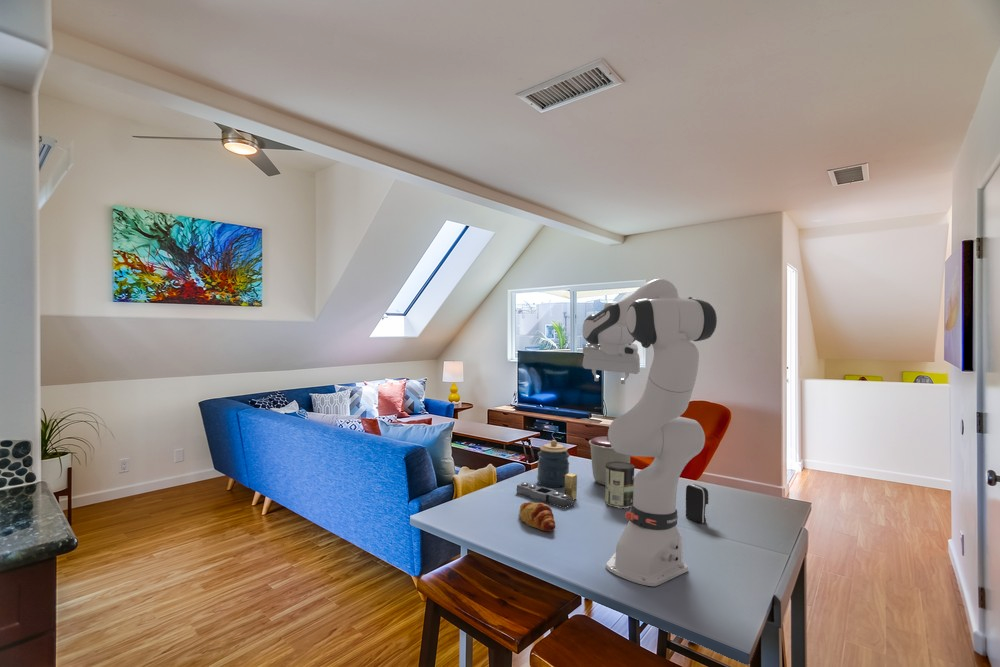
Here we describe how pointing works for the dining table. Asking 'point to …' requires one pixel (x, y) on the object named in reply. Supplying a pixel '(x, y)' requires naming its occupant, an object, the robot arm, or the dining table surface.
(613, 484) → the coffee can
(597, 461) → the canister
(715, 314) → the robot arm
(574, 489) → the gold rectangular block
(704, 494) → the battery charger
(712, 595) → the dining table surface
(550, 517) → the croissant
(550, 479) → the canister
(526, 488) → the silver studded bar
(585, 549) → the dining table surface
